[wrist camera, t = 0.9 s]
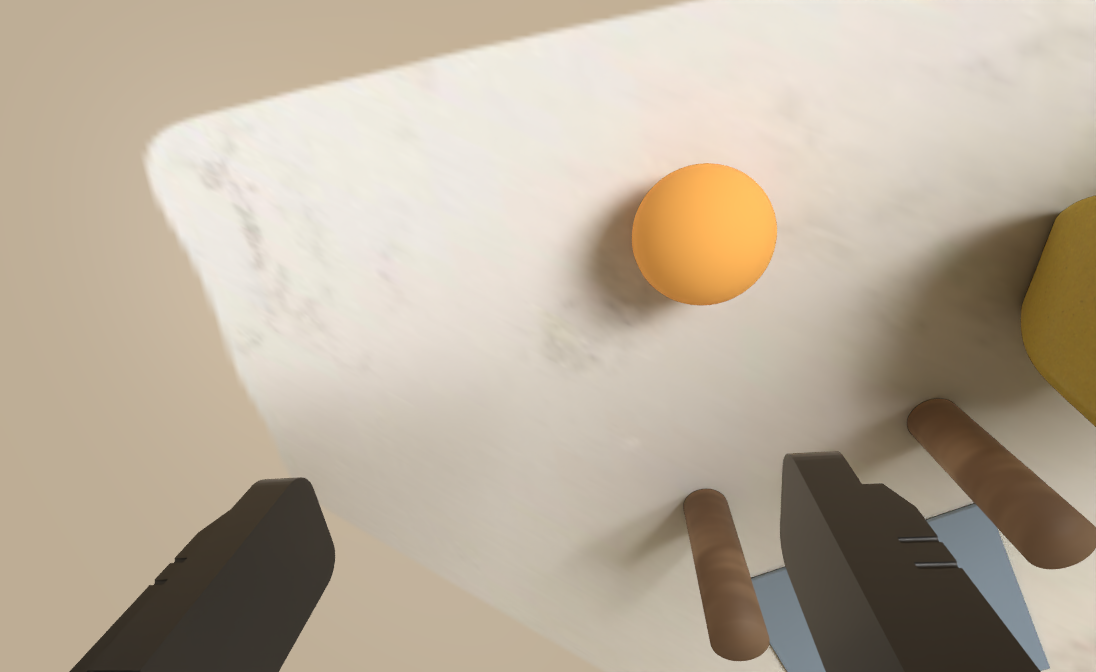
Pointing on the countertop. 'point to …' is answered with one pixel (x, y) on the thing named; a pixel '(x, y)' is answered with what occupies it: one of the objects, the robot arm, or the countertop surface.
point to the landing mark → (974, 553)
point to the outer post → (724, 579)
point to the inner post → (1003, 487)
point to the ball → (704, 234)
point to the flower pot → (1066, 308)
